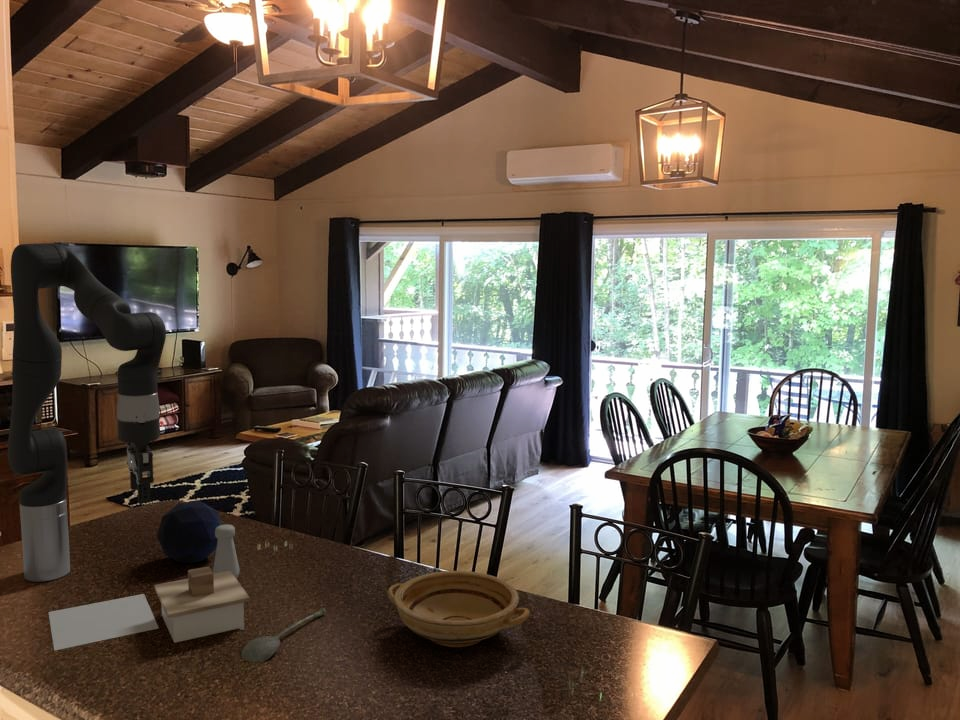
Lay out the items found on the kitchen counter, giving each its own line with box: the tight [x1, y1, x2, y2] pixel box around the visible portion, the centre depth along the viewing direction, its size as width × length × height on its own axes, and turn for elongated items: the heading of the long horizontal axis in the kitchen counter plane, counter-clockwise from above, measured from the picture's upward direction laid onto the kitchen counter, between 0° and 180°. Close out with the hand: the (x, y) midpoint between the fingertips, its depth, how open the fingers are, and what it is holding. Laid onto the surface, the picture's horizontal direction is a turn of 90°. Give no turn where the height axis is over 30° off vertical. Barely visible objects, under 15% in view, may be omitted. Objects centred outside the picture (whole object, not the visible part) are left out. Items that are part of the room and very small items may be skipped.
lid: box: [153, 566, 251, 618], centre depth 158 cm, size 15×15×5 cm
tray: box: [48, 593, 160, 652], centre depth 159 cm, size 18×18×1 cm
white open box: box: [161, 603, 245, 644], centre depth 159 cm, size 13×13×6 cm
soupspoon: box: [240, 608, 327, 663], centre depth 154 cm, size 22×3×7 cm
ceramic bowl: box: [386, 570, 531, 648], centre depth 156 cm, size 30×24×8 cm
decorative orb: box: [156, 500, 223, 564], centre depth 190 cm, size 14×15×15 cm
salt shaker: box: [212, 524, 241, 580], centre depth 178 cm, size 6×6×13 cm
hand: (140, 495), depth 158 cm, fingers open, 8 cm apart
